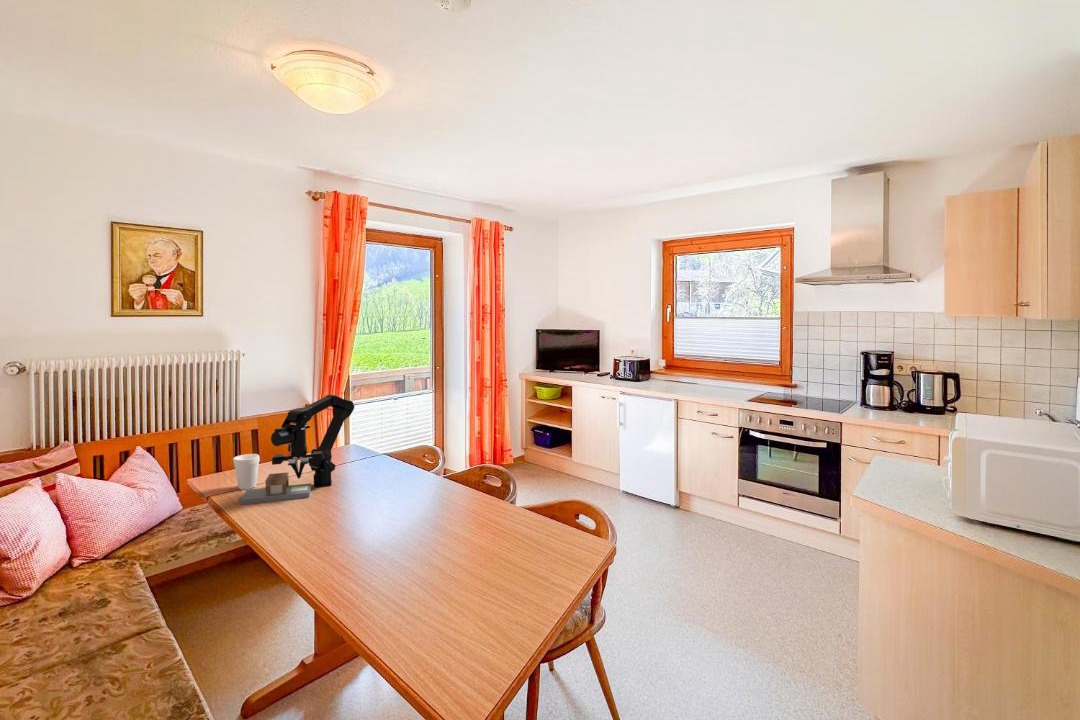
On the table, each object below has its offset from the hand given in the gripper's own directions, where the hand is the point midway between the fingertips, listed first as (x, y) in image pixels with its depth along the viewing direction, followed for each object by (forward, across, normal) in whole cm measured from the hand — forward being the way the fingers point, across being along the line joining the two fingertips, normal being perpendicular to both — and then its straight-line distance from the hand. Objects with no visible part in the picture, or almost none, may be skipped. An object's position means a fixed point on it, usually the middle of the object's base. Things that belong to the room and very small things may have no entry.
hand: (299, 478), depth 199 cm
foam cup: (+7, +21, -16) cm, 28 cm away
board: (+6, +8, 0) cm, 10 cm away
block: (+7, +8, 0) cm, 10 cm away
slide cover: (+4, +8, 0) cm, 9 cm away
